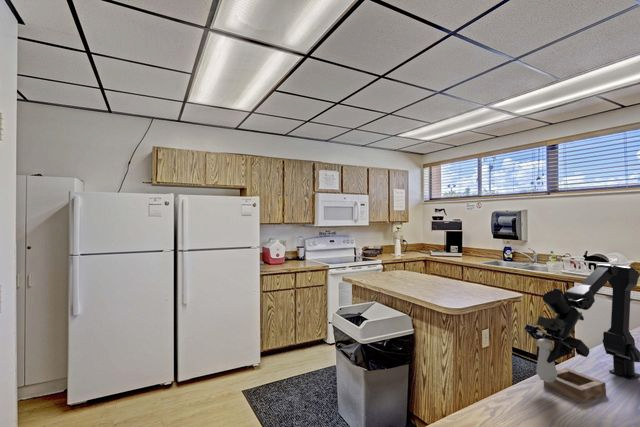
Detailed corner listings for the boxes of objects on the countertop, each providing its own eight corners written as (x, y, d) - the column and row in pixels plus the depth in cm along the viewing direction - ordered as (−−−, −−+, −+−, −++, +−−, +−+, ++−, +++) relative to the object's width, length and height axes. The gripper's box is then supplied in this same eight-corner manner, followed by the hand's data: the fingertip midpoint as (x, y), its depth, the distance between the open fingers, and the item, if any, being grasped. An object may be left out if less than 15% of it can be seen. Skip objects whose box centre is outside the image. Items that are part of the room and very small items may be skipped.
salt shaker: (561, 384, 104) (558, 343, 105) (541, 383, 105) (539, 343, 106) (552, 375, 110) (549, 337, 110) (533, 374, 111) (531, 336, 112)
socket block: (567, 379, 117) (566, 367, 117) (606, 395, 106) (605, 382, 106) (544, 385, 113) (543, 374, 113) (582, 403, 101) (581, 390, 102)
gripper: (526, 301, 119) (504, 336, 115) (580, 314, 101) (556, 356, 97) (543, 320, 121) (522, 355, 117) (599, 336, 103) (577, 377, 99)
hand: (542, 360), depth 108 cm, fingers closed on salt shaker, 3 cm apart
